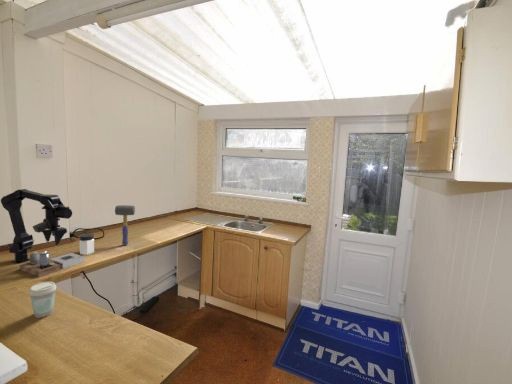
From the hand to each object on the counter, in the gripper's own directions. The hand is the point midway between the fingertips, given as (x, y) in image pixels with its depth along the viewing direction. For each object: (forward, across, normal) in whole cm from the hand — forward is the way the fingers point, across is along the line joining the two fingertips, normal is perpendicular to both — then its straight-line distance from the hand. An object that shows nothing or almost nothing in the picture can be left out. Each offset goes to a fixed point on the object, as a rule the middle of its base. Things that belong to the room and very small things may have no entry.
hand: (52, 243), depth 147 cm
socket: (+13, +5, +5) cm, 14 cm away
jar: (+13, -2, +21) cm, 25 cm away
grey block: (+13, +8, -8) cm, 17 cm away
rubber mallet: (+13, +5, +44) cm, 46 cm away
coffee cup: (+12, +49, -28) cm, 58 cm away
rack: (+13, +3, -8) cm, 15 cm away
